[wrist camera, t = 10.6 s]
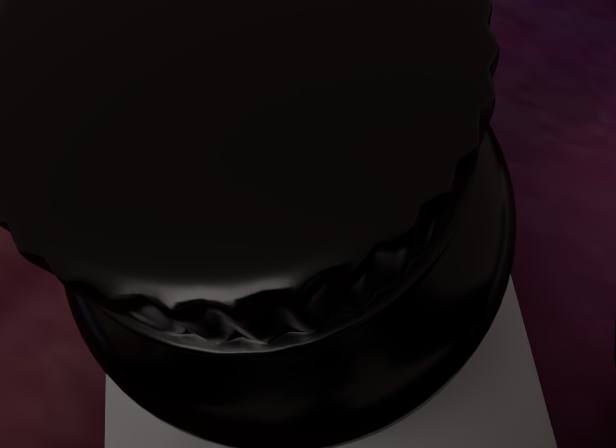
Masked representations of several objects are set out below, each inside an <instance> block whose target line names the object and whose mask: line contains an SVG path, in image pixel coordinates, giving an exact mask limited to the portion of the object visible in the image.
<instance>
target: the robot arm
mask: <svg viewBox="0 0 616 448" xmlns="http://www.w3.org/2000/svg"><path fill="white" fill-rule="evenodd" d="M614 362H615V367H616V319H615V343H614Z"/></svg>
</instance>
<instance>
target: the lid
mask: <svg viewBox="0 0 616 448" xmlns="http://www.w3.org/2000/svg"><path fill="white" fill-rule="evenodd" d="M105 448H230V447H226V446H222V445H219V444H215V443H211V442H208V441H204V440H201V439H199V438H196V437H194V436H191V435H189V434H186V433H184V432H181V431H179V430H177V429H175V428H174V427H172V426H170V425H168V424H166V423H164V422H162V421H160V420H159V419H157V418H156V417H154V416H153V415H151V414H150V413H149V412H147V411H146V410H144V409H143V408H141V407H140V406H139V405H138V404H136V403H135V402H134V401H133V400H132V399H131V398H130V397H128V396H127V395H126V394H125V393H124V392H123V391H122V390H121V389H120V388H119V387H118V386H117V385H116V384H115V383H114V382H113V380H112V379H111V378H110V377H109V376H108V375H107V374H106V409H105ZM334 448H557V445H556V441H555V437H554V434H553V430H552V426H551V423H550V419H549V415H548V411H547V408H546V404H545V400H544V397H543V393H542V389H541V385H540V382H539V378H538V374H537V371H536V367H535V363H534V359H533V356H532V352H531V348H530V345H529V341H528V337H527V333H526V330H525V326H524V322H523V319H522V315H521V311H520V308H519V304H518V300H517V296H516V293H515V289H514V285H513V282H512V278H511V274H510V278H509V282H508V286H507V289H506V292H505V294H504V297H503V300H502V303H501V306H500V308H499V310H498V312H497V314H496V316H495V319H494V321H493V323H492V325H491V327H490V329H489V330H488V332H487V334H486V335H485V337H484V339H483V340H482V342H481V343H480V345H479V347H478V348H477V350H476V351H475V353H474V354H473V355H472V357H471V358H470V359H469V361H468V362H467V363H466V364H465V366H464V367H463V368H462V370H461V371H460V372H459V373H458V374H457V375H456V376H455V377H454V378H453V380H452V381H451V382H450V383H449V384H448V385H447V386H446V387H445V388H444V389H443V390H442V391H441V392H440V393H438V394H437V395H436V396H435V397H434V398H432V399H431V400H430V401H429V402H428V403H426V404H425V405H424V406H423V407H421V408H420V409H418V410H417V411H415V412H414V413H412V414H411V415H409V416H408V417H406V418H405V419H403V420H402V421H400V422H398V423H396V424H394V425H392V426H391V427H389V428H387V429H385V430H383V431H381V432H379V433H376V434H374V435H371V436H369V437H366V438H364V439H361V440H359V441H356V442H352V443H349V444H345V445H342V446H338V447H334Z"/></svg>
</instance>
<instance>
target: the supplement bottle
mask: <svg viewBox="0 0 616 448" xmlns="http://www.w3.org/2000/svg"><path fill="white" fill-rule="evenodd" d="M491 13H492V2H491V1H490V0H0V226H1V227H2V228H4V229H6V230H7V231H9V232H10V233H11V235H12V238H13V241H14V243H15V245H16V247H17V249H18V251H19V253H20V254H21V255H22V256H23V257H24V258H25V259H27V260H28V261H29V262H31V263H33V264H34V265H36V266H38V267H40V268H42V269H44V270H46V271H48V272H50V273H52V274H54V275H56V277H57V278H58V279H59V280H60V281H61V283H62V284H63V285H64V288H65V293H66V296H67V299H68V303H69V306H70V309H71V312H72V315H73V318H74V320H75V322H76V324H77V327H78V329H79V331H80V334H81V336H82V338H83V340H84V341H85V343H86V345H87V346H88V348H89V350H90V352H91V353H92V355H93V357H94V358H95V359H96V361H97V362H98V363H99V365H100V366H101V367H102V369H103V370H104V371H105V373H106V374H107V375H108V376H109V377H110V378H111V379H112V380H113V382H114V383H115V384H116V385H117V386H118V387H119V388H120V389H121V390H122V391H123V392H124V393H125V394H126V395H127V396H128V397H130V398H131V399H132V400H133V401H134V402H135V403H136V404H138V405H139V406H140V407H141V408H143V409H144V410H146V411H147V412H149V413H150V414H151V415H153V416H154V417H156V418H157V419H159V420H160V421H162V422H164V423H166V424H168V425H170V426H172V427H174V428H175V429H177V430H179V431H181V432H184V433H186V434H189V435H191V436H194V437H196V438H199V439H201V440H204V441H208V442H211V443H215V444H219V445H222V446H226V447H230V448H334V447H338V446H342V445H345V444H349V443H352V442H356V441H359V440H361V439H364V438H366V437H369V436H371V435H374V434H376V433H379V432H381V431H383V430H385V429H387V428H389V427H391V426H392V425H394V424H396V423H398V422H400V421H402V420H403V419H405V418H406V417H408V416H409V415H411V414H412V413H414V412H415V411H417V410H418V409H420V408H421V407H423V406H424V405H425V404H426V403H428V402H429V401H430V400H431V399H432V398H434V397H435V396H436V395H437V394H438V393H440V392H441V391H442V390H443V389H444V388H445V387H446V386H447V385H448V384H449V383H450V382H451V381H452V380H453V378H454V377H455V376H456V375H457V374H458V373H459V372H460V371H461V370H462V368H463V367H464V366H465V364H466V363H467V362H468V361H469V359H470V358H471V357H472V355H473V354H474V353H475V351H476V350H477V348H478V347H479V345H480V343H481V342H482V340H483V339H484V337H485V335H486V334H487V332H488V330H489V329H490V327H491V325H492V323H493V321H494V319H495V316H496V314H497V312H498V310H499V308H500V306H501V303H502V300H503V297H504V294H505V292H506V289H507V286H508V282H509V278H510V274H511V269H512V265H513V260H514V251H515V242H516V210H515V200H514V192H513V187H512V182H511V178H510V173H509V170H508V167H507V164H506V161H505V158H504V155H503V152H502V149H501V147H500V145H499V143H498V140H497V138H496V136H495V134H494V132H493V130H492V128H491V126H490V125H489V122H490V119H491V117H492V114H493V111H494V107H495V91H494V85H493V80H492V79H493V76H494V73H495V70H496V67H497V64H498V59H499V45H498V43H497V41H496V38H495V36H494V34H493V32H492V31H491V29H490V27H489V26H490V20H491Z"/></svg>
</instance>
